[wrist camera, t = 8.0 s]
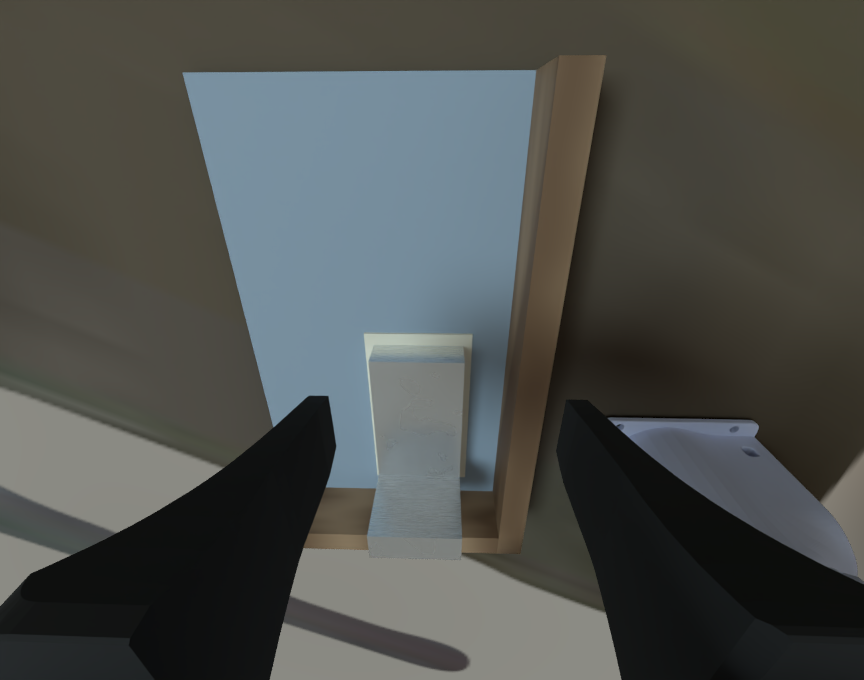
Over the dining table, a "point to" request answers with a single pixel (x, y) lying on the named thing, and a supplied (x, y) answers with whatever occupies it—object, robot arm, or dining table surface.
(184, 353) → the dining table surface
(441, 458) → the bracket
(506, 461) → the walls
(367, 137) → the mat
